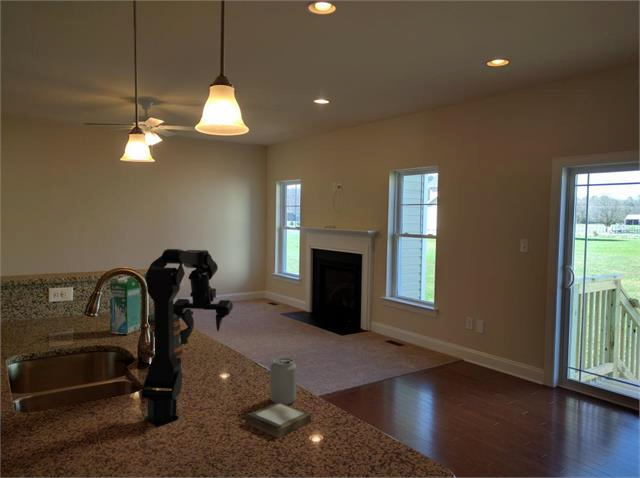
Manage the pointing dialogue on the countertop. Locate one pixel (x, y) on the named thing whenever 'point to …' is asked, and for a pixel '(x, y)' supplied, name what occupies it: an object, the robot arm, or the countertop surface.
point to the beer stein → (176, 333)
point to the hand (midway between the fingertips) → (204, 329)
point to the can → (283, 381)
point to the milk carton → (124, 305)
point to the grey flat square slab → (278, 419)
